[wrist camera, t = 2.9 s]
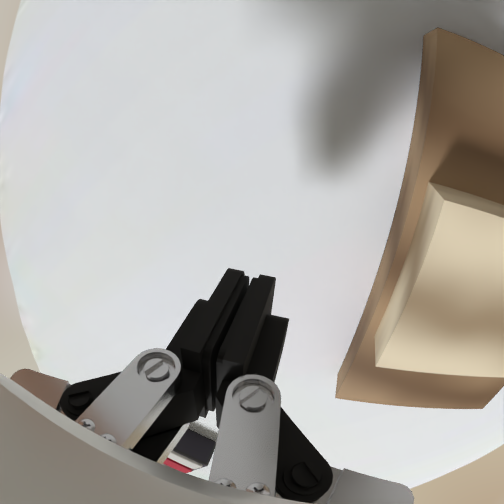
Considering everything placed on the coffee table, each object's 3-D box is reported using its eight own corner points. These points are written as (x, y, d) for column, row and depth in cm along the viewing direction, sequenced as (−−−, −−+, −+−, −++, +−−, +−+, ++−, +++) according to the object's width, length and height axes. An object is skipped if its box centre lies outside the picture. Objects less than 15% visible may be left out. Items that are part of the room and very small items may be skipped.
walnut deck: (423, 35, 8) (437, 27, 7) (596, 129, 6) (617, 138, 4) (337, 374, 19) (335, 397, 17) (478, 388, 17) (482, 408, 15)
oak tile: (428, 181, 10) (444, 199, 8) (579, 236, 8) (598, 256, 6) (374, 336, 14) (375, 366, 12) (515, 353, 12) (524, 377, 10)
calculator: (114, 444, 36) (116, 425, 27) (126, 424, 39) (134, 397, 30) (178, 478, 36) (206, 471, 27) (188, 456, 39) (218, 441, 30)
